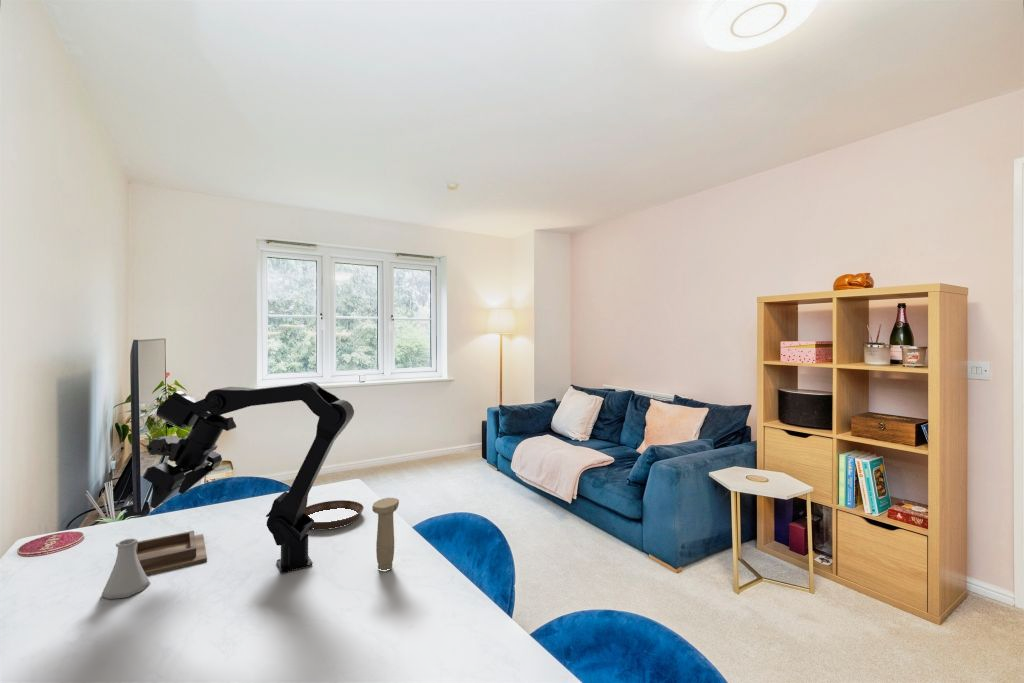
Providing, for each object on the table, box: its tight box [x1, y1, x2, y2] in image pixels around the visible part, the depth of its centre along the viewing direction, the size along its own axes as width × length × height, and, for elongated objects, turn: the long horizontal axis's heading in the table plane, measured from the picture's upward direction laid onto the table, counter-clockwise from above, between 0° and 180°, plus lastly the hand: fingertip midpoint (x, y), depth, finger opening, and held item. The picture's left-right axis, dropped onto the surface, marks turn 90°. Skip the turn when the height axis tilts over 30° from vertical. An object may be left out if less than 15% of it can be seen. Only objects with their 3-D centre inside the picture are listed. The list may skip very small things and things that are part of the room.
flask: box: [101, 538, 151, 600], centre depth 94 cm, size 7×7×10 cm
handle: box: [371, 497, 400, 570], centre depth 104 cm, size 5×6×15 cm
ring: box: [305, 499, 364, 530], centre depth 131 cm, size 18×18×3 cm
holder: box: [136, 530, 208, 576], centre depth 108 cm, size 16×16×3 cm
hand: (167, 499), depth 103 cm, fingers open, 9 cm apart
